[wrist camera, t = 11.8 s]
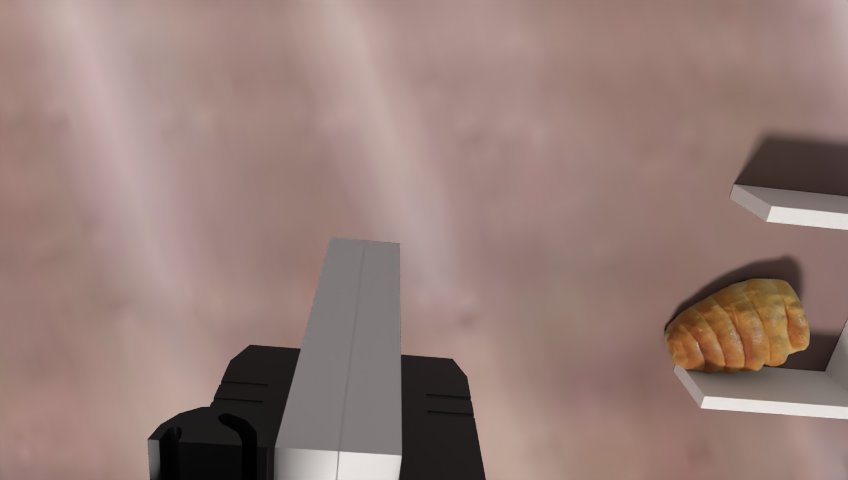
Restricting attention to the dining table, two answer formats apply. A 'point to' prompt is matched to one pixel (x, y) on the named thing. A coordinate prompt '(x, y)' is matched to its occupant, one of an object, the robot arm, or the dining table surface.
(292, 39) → the dining table surface
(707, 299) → the pastry
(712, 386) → the box
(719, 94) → the dining table surface
